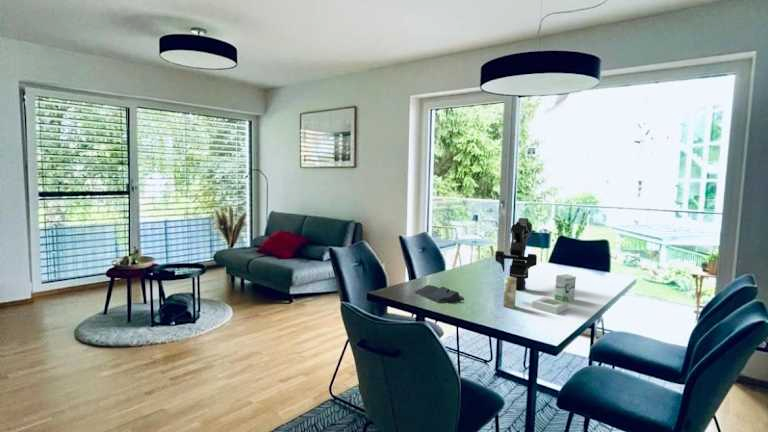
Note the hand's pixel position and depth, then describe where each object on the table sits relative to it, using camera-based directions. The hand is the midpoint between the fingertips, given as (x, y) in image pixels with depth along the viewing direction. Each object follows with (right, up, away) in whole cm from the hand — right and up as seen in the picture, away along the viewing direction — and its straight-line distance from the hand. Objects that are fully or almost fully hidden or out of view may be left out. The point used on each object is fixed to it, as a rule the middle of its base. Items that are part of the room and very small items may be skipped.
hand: (513, 272), depth 198 cm
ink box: (+26, -14, +7) cm, 31 cm away
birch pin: (-4, -14, -6) cm, 16 cm away
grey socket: (+14, -15, -7) cm, 22 cm away
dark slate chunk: (-34, -13, +7) cm, 37 cm away
